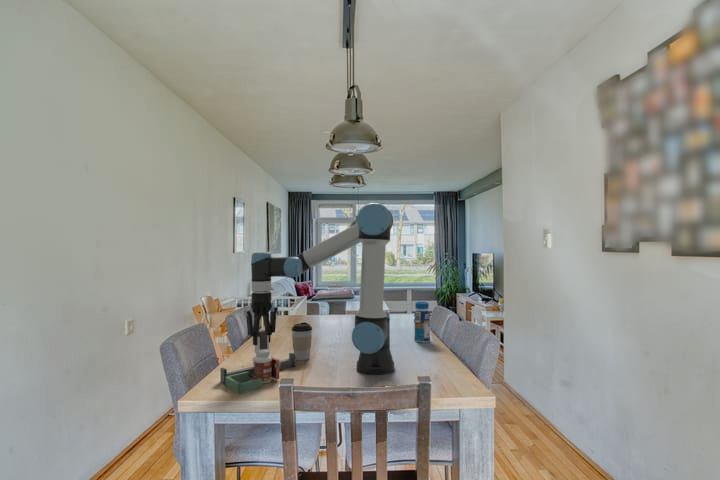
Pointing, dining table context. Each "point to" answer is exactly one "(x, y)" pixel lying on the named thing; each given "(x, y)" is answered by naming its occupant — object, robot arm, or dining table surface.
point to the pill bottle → (263, 366)
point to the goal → (238, 387)
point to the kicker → (275, 362)
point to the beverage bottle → (422, 322)
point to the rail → (224, 373)
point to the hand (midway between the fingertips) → (261, 352)
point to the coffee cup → (302, 340)
